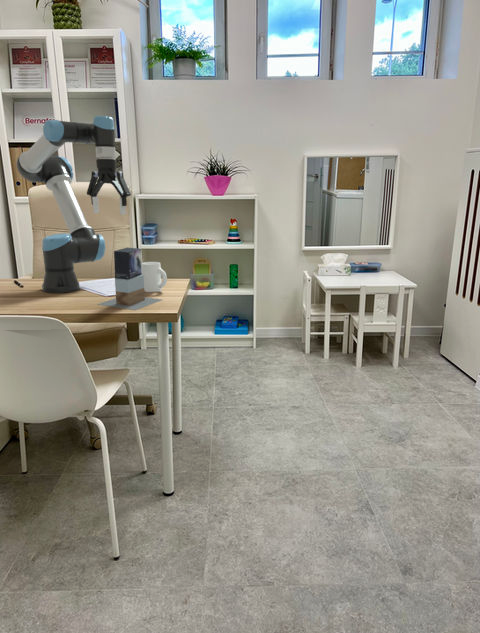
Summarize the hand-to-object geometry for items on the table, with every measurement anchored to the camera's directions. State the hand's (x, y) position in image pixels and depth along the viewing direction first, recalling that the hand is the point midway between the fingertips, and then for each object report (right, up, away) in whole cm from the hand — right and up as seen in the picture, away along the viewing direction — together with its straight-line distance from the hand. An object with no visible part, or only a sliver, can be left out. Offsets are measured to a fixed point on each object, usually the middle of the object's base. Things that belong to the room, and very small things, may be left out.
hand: (109, 213), depth 194 cm
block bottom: (+10, -36, -8) cm, 38 cm away
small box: (+10, -27, -10) cm, 30 cm away
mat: (+10, -36, -7) cm, 38 cm away
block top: (+10, -31, -9) cm, 34 cm away
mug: (+17, -31, +12) cm, 37 cm away
